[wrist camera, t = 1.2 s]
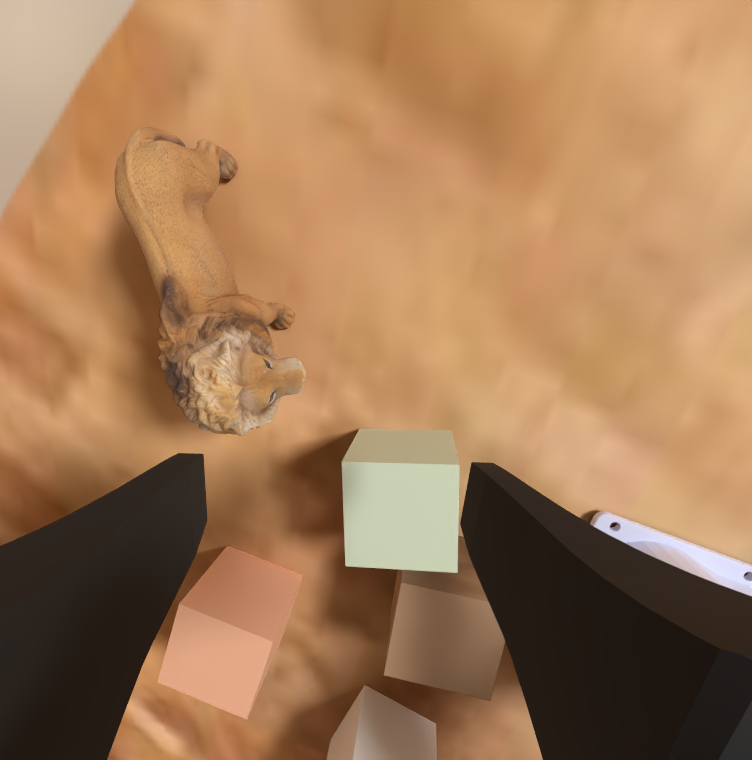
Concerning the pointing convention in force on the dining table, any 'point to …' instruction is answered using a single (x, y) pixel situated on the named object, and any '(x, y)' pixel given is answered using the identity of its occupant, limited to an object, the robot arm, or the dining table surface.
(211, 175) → the lion figurine
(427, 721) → the pale grey block
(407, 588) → the walnut block
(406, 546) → the sage block
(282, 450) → the dining table surface
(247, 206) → the dining table surface
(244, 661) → the terracotta block
